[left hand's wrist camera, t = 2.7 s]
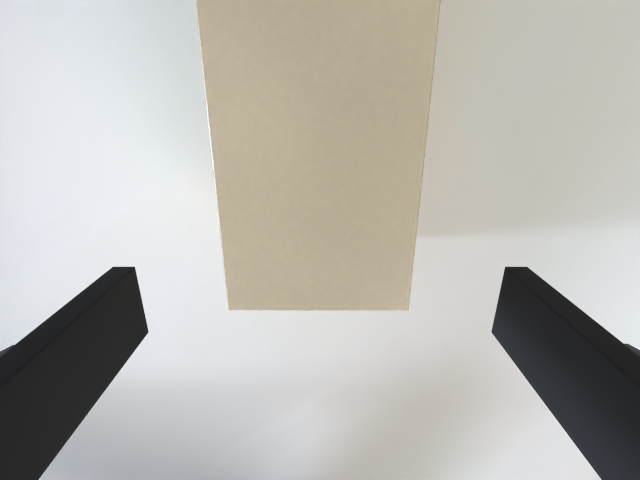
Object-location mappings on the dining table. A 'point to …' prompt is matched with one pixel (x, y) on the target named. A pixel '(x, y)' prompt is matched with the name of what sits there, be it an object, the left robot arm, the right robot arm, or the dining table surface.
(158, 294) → the dining table surface
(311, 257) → the cabinet
